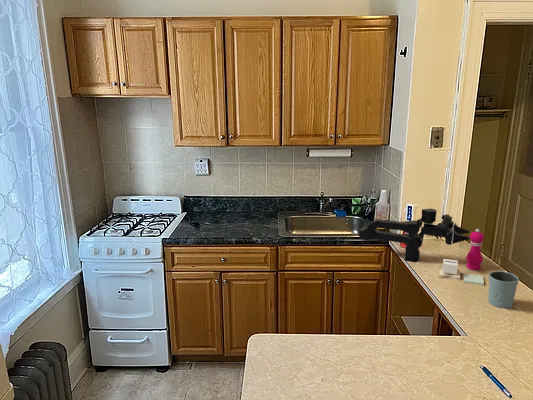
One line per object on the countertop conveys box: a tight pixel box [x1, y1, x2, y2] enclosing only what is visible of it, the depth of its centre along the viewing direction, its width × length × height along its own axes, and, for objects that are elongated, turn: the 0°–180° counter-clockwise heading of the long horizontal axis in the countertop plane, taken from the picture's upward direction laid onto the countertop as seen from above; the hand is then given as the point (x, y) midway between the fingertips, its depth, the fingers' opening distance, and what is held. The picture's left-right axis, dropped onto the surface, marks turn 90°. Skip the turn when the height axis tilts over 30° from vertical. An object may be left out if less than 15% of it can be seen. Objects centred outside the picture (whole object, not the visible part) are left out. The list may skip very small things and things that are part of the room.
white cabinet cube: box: [442, 258, 458, 275], centre depth 184 cm, size 6×6×5 cm
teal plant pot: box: [487, 270, 520, 309], centre depth 157 cm, size 10×10×12 cm
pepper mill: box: [465, 228, 485, 271], centre depth 190 cm, size 7×7×20 cm
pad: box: [462, 273, 485, 286], centre depth 179 cm, size 8×8×1 cm
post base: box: [438, 266, 461, 281], centre depth 184 cm, size 9×9×6 cm
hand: (469, 235), depth 189 cm, fingers open, 9 cm apart
